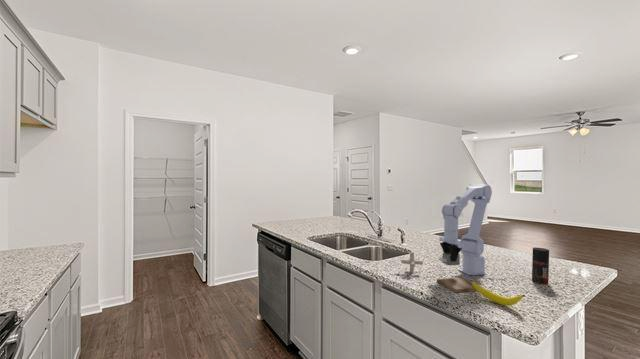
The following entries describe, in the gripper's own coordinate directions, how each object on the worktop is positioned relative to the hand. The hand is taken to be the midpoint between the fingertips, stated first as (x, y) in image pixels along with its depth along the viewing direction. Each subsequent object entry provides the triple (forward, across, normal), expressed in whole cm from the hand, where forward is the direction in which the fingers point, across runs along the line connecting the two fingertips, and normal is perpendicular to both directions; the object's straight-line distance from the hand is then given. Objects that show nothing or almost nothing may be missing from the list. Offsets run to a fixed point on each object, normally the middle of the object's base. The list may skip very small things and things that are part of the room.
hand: (450, 259), depth 131 cm
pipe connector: (+9, -11, -13) cm, 19 cm away
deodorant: (+9, +10, +38) cm, 41 cm away
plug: (+2, 0, 0) cm, 2 cm away
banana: (+9, +24, +2) cm, 26 cm away
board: (+9, +8, -2) cm, 12 cm away
